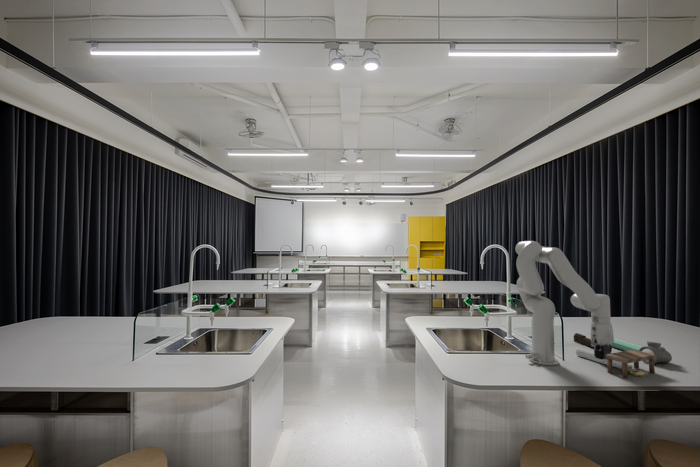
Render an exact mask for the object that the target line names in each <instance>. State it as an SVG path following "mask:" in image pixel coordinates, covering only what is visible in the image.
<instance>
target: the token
mask: <svg viewBox="0 0 700 467" xmlns="http://www.w3.org/2000/svg"><path fill="white" fill-rule="evenodd" d="M629 374H630V375H631V374H632V375H631V376H633V375H634V377H637V376H638V377H637V378H645V377H644V376H645V375H646V374H645V371H644V370H642V369H640V368H639V369H637V368H632V369H630V372H629Z"/></svg>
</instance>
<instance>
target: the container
mask: <svg viewBox="0 0 700 467" xmlns="http://www.w3.org/2000/svg"><path fill="white" fill-rule="evenodd" d="M611 346H612V348H614V349H617V350H620V351H622V352H623V351H629V350H638V351H639V350H640V348H641V347H642V346H641V345H637V344H635V343H631V342H628V341H624V340H621V339H617V338H615V337H614V343H612V344H611Z"/></svg>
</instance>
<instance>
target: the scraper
mask: <svg viewBox="0 0 700 467" xmlns="http://www.w3.org/2000/svg"><path fill="white" fill-rule="evenodd" d="M597 346H599V345H597ZM575 351H576V352H575V353H576V354H575V355H576V356H578V357H580V358H581V357H582V358H584V359H588V360H591V361H593V362H598V363H601V364H604V365H607V358H606V354H611V353H610V346H608V345H602V351H603V359H602V360H601V359H598V358H596V357H595V349H594V348H593V353H592V352H588V351H584V350H581V349H576V350H575ZM627 365H628V373H630V369H633V365H631V364H629V363H627ZM612 366H613V368H616V369H619V370H622V362H618V361H615V360H612Z"/></svg>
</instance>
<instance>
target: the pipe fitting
mask: <svg viewBox="0 0 700 467" xmlns="http://www.w3.org/2000/svg"><path fill="white" fill-rule="evenodd" d="M646 345H647V346H645V345H644V346H641V348H640V350H639V351H642V352H646V353H650V354H654V355H655V359H654V365H655V364H658V363H670V362H671V361H672V359H673V356H672V354H671V352H669V351H667V349H666V348H665V347H664V346H662V343H661V342H656V341H646ZM642 362H644V363H645V364H647V365H649V360H644V361H642Z"/></svg>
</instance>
